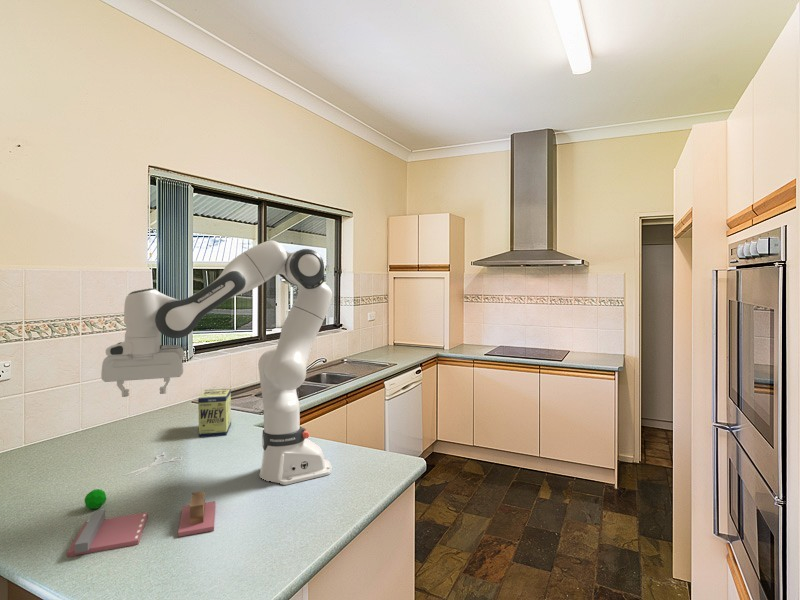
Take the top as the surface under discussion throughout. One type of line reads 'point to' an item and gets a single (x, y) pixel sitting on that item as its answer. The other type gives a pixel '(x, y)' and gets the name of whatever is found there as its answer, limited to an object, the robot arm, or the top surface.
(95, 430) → the top surface
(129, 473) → the scissors
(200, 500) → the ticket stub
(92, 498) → the polyhedron
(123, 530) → the ticket
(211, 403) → the protein box
